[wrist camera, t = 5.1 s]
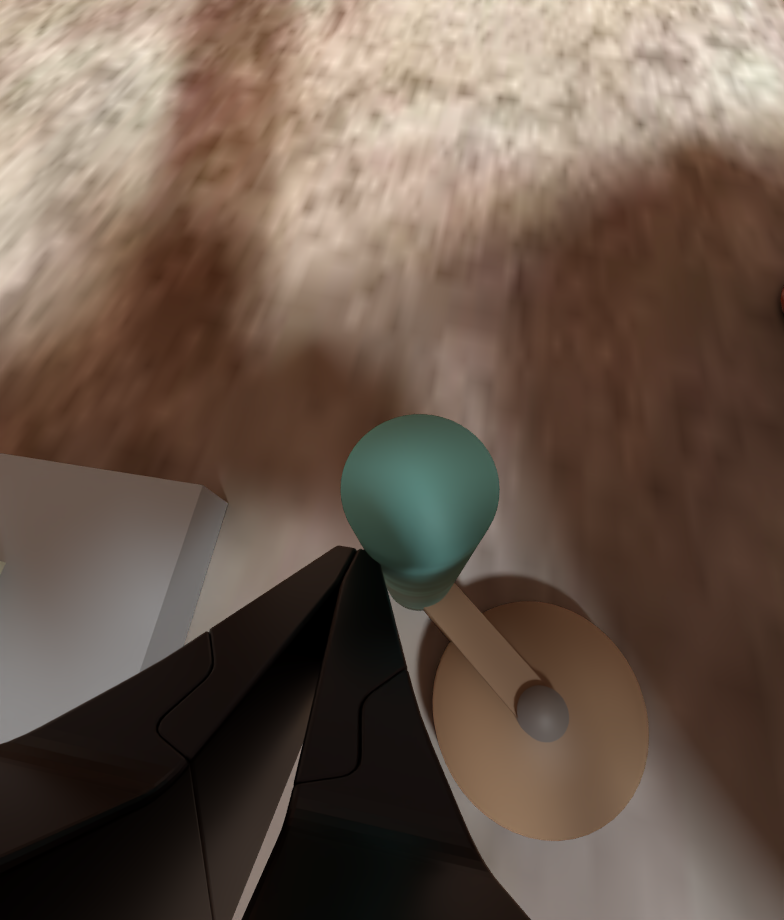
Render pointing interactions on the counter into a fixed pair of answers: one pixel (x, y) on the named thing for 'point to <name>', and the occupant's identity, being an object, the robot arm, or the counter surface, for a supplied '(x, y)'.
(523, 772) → the crank handle
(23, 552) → the stand
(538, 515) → the counter surface
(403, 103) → the counter surface
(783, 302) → the supplement bottle
